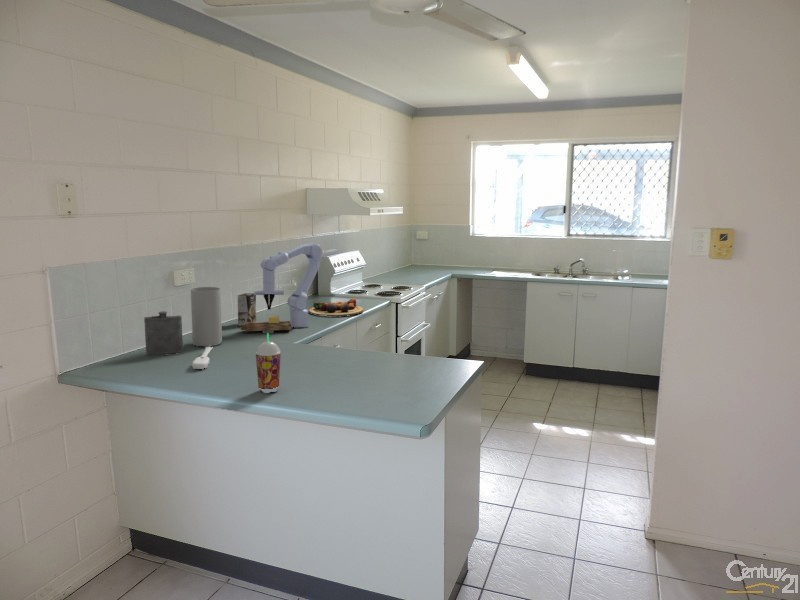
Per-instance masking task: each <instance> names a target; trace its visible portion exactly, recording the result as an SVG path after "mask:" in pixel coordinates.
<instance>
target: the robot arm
mask: <svg viewBox="0 0 800 600" xmlns="http://www.w3.org/2000/svg"><path fill="white" fill-rule="evenodd" d="M323 252H324V251H323V249H322V247H321V245H320V244H318V243H311V242H308V243H307V242H306V243H305V244H304V243H303V244H301V245H299V246H297V247H296V248H294V249H293V248H292V249H291V250H289V251H287V252H285V251H278V252H277V254H274V255H270V256H269V257H265V258H263V259H262V260H261V262H260V267H261V269H262V290H254V291H253V293H254V295H256V296H263V298H264V300H265V303H266V306H267V310H269V311H270V310H271V309H272V303H273V301H274V299H275V296H276V295H277V296H278V295H279V296H284V295H285V291H284V290H277V289H276V285H275V282H276V279H275V278H276V277H275V276H276V275H275V273H276V272H275V270H276V268H277V267H279V266H282V265H284V264H287V263H288V261H289V259H292V258H295V257H297V256H300V255H302V254H303V255H304V256H305V257H307V260H308V262H309V264H308V266H307V268H306V270H305V272H304V274H303V276H302V278H301V280H300V281H299V284H298V286H297V288H296V290H294V291H293V292H292V294H291V295H290V296H289V297H288V298H287V306H289V321H290V323H291V329H292V328H293V327H294V328H308V327H309V310H308V308H306V307H307V301H308V295H307V293H308V291H309V290H310V287H311V286H312V283H313V281H314V279H315V277H316V275H317V273H318V271H319V269H320V267H321V264H322V254H323ZM305 308H306V309H305Z"/></svg>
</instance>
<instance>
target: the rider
mask: <svg viewBox="0 0 800 600" xmlns="http://www.w3.org/2000/svg"><path fill="white" fill-rule="evenodd" d="M279 321H280V316H279V315H268V322H269V324H273V323H275V324H279Z"/></svg>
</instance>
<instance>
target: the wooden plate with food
mask: <svg viewBox="0 0 800 600" xmlns="http://www.w3.org/2000/svg"><path fill="white" fill-rule="evenodd" d="M314 310H315V311H314ZM309 312H310V313H312V314H316V315H327V316H347V315H355V314H359V313H361V314H363V313H364V308H363V307H362V306H359V305H358V306H357V299H356V298H355V297H353V298H352V297H351V298H350V299H349V300H348V301H345V300H344V301H341V300H340V301H339V300H338V301H335V302H330V303H327V302H321V300H319V301H315V302H313V305H312V308H310V309H309V310H308V313H309ZM310 313H309V314H310ZM359 315H360V314H359ZM355 316H356V315H355Z"/></svg>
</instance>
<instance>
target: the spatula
mask: <svg viewBox="0 0 800 600" xmlns="http://www.w3.org/2000/svg"><path fill="white" fill-rule="evenodd" d="M212 349H214V346H212V347H204V350H203V353H201V355H200V356H197V357H195V359H194V360H193V361H192V362H191V363H192V364H191V365H192V369H193V370H195V369H202V370H205V369H208V367H209V365H210V357H209V356H208V355H209V354H210V352H211V350H212ZM208 364H209V365H208ZM204 368H205V369H204Z"/></svg>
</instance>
